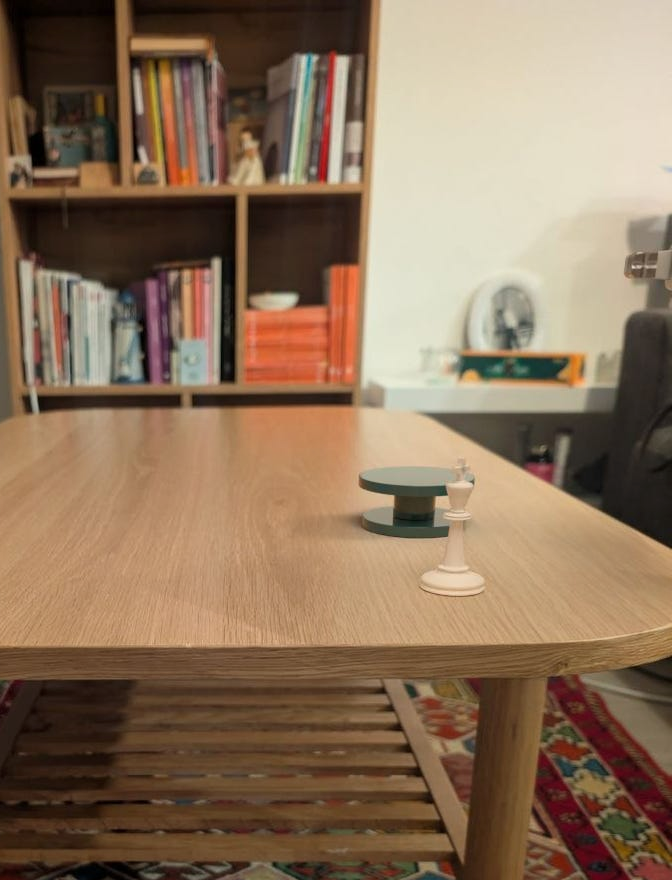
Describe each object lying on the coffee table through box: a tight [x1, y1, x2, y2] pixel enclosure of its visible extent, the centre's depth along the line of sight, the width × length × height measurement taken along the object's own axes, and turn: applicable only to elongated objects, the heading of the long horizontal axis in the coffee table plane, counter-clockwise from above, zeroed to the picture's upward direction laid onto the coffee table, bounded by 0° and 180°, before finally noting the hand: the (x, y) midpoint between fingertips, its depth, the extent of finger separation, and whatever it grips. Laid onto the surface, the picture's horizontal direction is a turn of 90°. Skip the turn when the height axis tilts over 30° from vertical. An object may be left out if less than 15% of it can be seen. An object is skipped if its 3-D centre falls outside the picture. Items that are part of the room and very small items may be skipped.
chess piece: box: [419, 457, 486, 597], centre depth 72 cm, size 5×5×10 cm
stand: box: [357, 465, 476, 539], centre depth 93 cm, size 11×11×5 cm
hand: (654, 263), depth 65 cm, fingers open, 8 cm apart
